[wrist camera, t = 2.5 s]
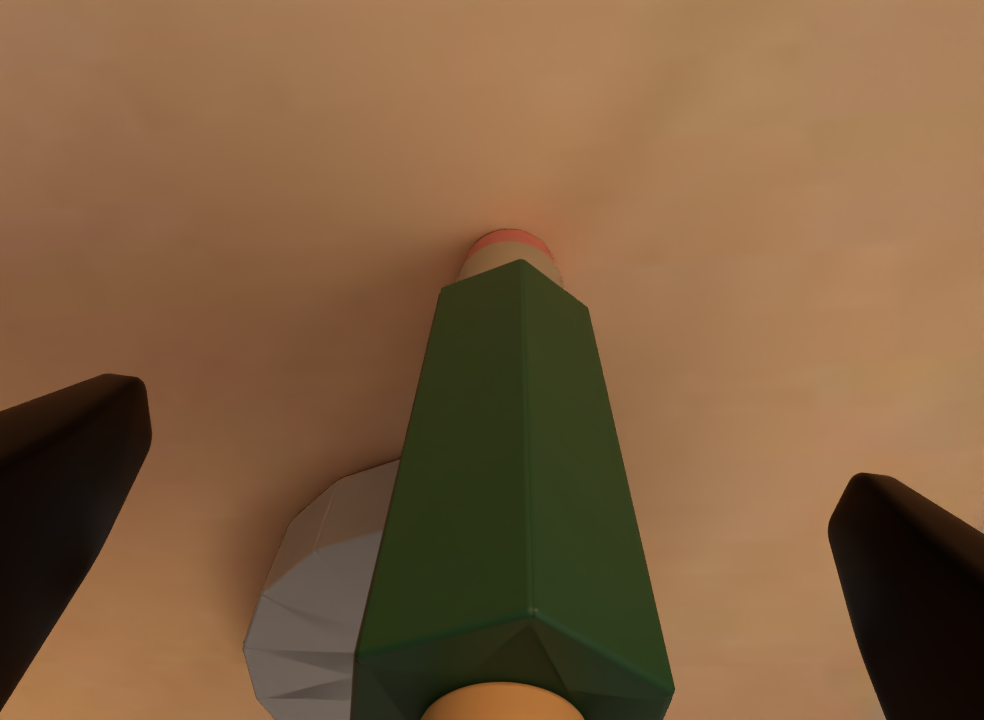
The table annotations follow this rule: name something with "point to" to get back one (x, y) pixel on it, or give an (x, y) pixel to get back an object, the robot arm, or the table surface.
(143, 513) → the table surface
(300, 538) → the tape
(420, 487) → the pencil
